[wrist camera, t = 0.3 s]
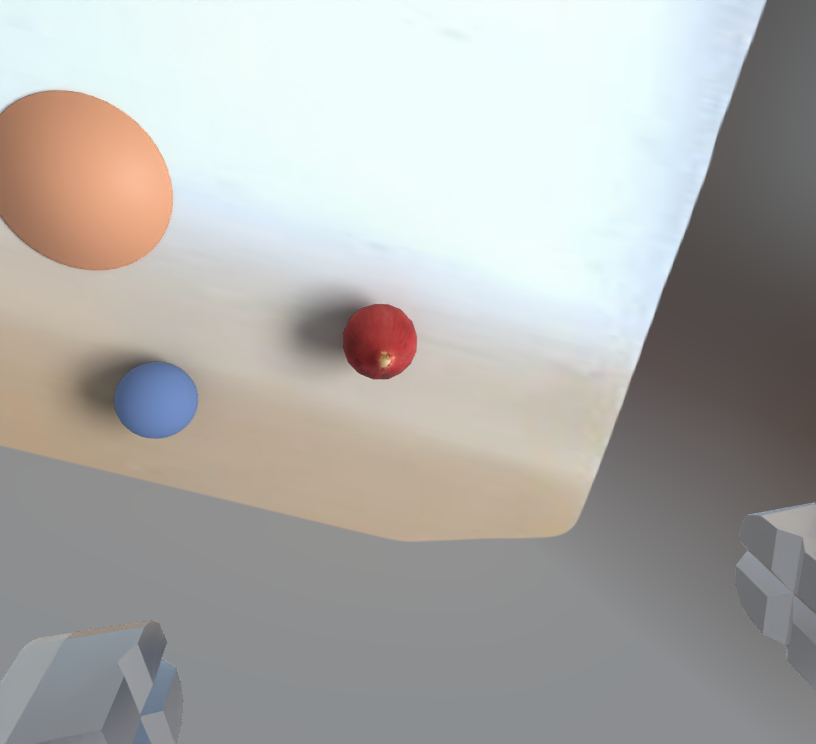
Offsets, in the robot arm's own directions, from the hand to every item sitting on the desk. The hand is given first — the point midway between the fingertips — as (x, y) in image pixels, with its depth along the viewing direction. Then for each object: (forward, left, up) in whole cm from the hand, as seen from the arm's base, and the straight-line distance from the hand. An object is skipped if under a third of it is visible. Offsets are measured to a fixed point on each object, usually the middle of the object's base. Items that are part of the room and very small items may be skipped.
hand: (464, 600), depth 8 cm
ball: (+13, -18, -36) cm, 42 cm away
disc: (-3, -18, -39) cm, 43 cm away
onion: (+12, 0, -39) cm, 41 cm away
